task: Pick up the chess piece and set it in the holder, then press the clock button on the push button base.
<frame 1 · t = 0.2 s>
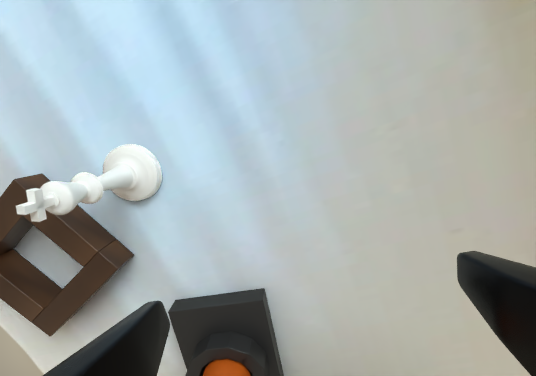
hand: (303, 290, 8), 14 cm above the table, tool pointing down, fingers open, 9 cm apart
chess piece: (136, 172, 22), on the table
holder: (57, 251, 25), on the table
push button base: (233, 348, 26), on the table
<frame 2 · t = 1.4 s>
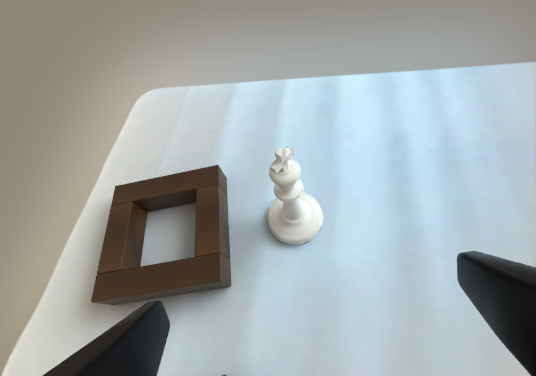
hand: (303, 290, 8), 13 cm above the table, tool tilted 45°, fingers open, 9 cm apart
chess piece: (295, 218, 23), on the table
holder: (174, 235, 25), on the table
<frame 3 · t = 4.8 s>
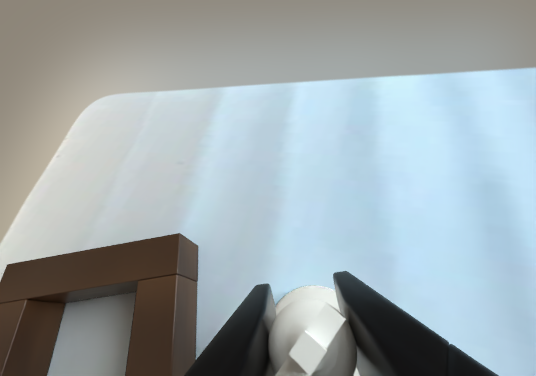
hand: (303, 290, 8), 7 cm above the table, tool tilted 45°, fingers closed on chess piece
chess piece: (316, 338, 13), on the table, touching gripper
holder: (102, 358, 14), on the table
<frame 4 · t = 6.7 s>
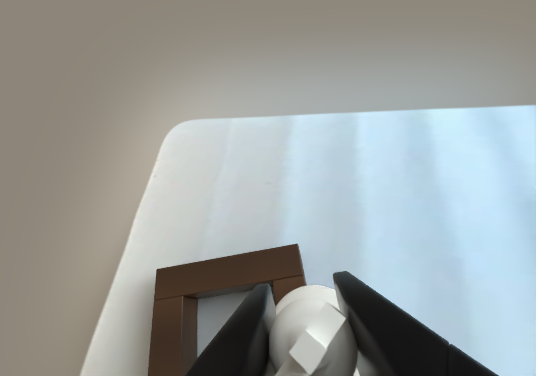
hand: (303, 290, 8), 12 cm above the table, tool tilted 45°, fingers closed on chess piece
chess piece: (316, 337, 13), point 5 cm above the table, touching gripper
holder: (239, 339, 18), on the table
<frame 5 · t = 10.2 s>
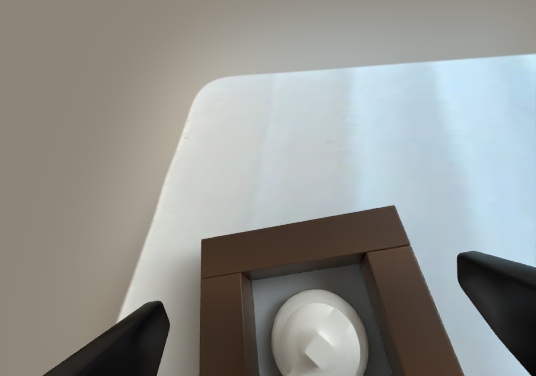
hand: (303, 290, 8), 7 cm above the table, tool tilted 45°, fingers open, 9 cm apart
chess piece: (318, 339, 14), resting in holder
holder: (315, 334, 14), on the table
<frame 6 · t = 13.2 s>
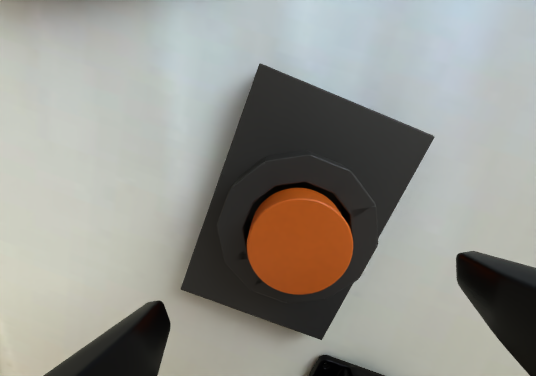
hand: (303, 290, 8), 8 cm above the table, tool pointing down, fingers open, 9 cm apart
clock button: (298, 239, 11), point 4 cm above the table, slide at 0.1 cm
push button base: (293, 210, 15), on the table
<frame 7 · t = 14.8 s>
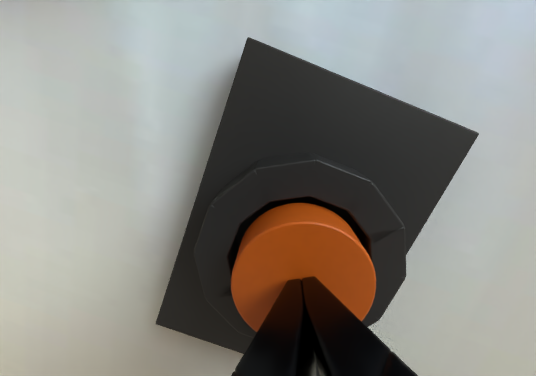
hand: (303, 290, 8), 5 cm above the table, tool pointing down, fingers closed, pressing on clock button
clock button: (300, 272, 9), point 4 cm above the table, slide at 0.1 cm, touching gripper
push button base: (293, 225, 12), on the table
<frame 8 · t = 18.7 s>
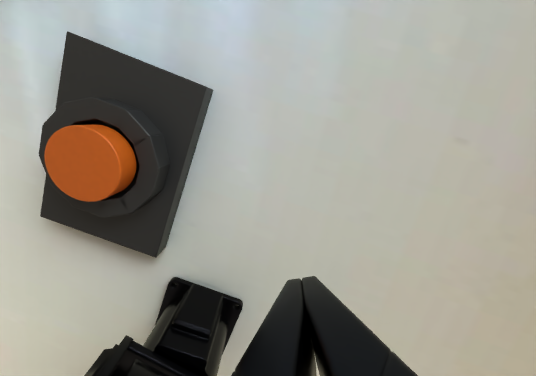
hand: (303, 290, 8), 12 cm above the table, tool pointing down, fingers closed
clock button: (92, 162, 15), point 4 cm above the table, slide at 0.1 cm
push button base: (130, 153, 19), on the table
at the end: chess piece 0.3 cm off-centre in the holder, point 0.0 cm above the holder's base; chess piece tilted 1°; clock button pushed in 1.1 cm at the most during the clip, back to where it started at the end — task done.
